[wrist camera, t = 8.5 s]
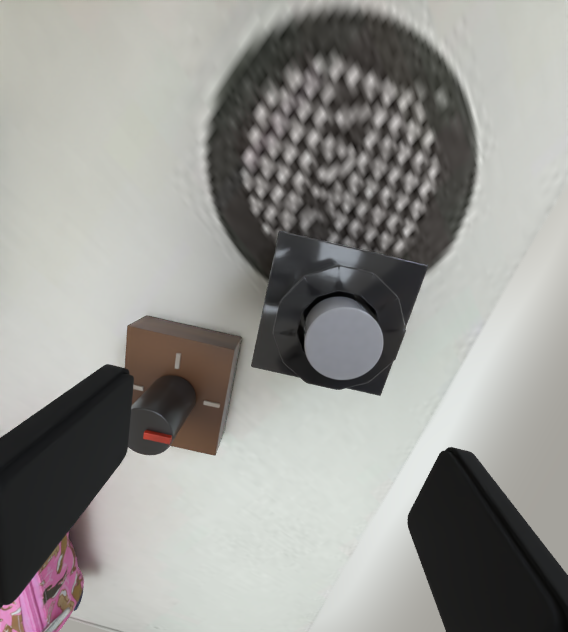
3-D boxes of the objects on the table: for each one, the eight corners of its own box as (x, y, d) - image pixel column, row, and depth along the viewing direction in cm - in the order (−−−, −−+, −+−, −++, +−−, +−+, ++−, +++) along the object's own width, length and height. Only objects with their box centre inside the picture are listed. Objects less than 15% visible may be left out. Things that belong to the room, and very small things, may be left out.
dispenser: (286, 231, 23) (275, 230, 13) (381, 253, 23) (448, 270, 13) (267, 321, 25) (244, 384, 15) (353, 341, 26) (391, 417, 15)
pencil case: (105, 575, 36) (45, 679, 28) (34, 566, 37) (-45, 667, 28) (88, 437, 30) (6, 518, 22) (4, 427, 30) (-110, 503, 22)
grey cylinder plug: (312, 289, 14) (315, 299, 12) (380, 304, 14) (394, 317, 12) (296, 352, 15) (296, 371, 13) (360, 366, 15) (370, 388, 13)
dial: (149, 409, 25) (113, 452, 20) (153, 370, 24) (115, 405, 19) (193, 419, 25) (168, 464, 20) (199, 380, 24) (173, 417, 19)
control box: (146, 315, 26) (125, 326, 23) (241, 337, 26) (234, 350, 23) (138, 414, 29) (119, 436, 26) (223, 434, 29) (214, 457, 26)
